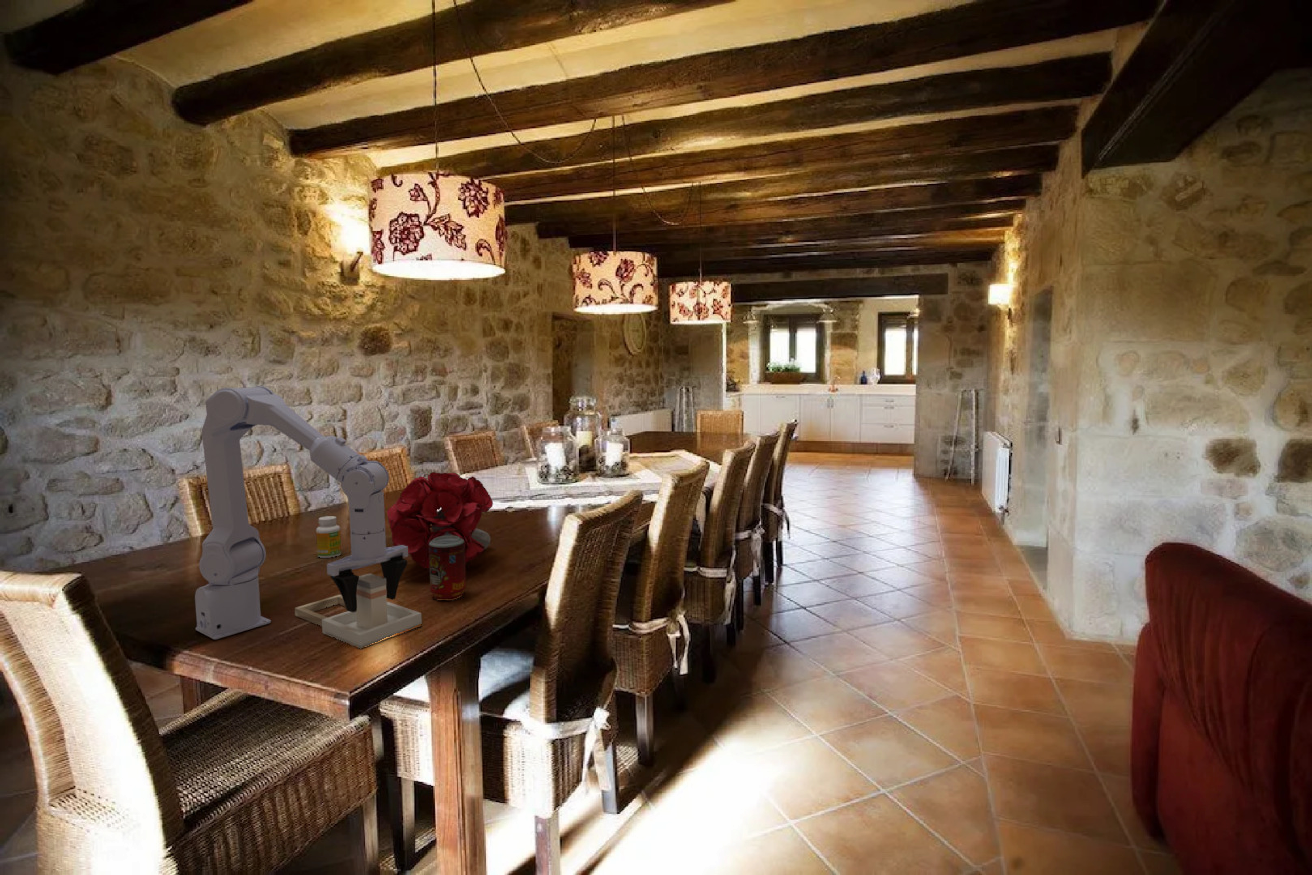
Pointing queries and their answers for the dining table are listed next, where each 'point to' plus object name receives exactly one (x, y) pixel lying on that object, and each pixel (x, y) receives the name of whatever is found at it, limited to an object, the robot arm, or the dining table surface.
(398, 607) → the tray
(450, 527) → the bouquet
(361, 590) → the block
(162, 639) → the dining table surface
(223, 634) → the robot arm
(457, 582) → the soda can
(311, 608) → the frame
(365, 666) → the dining table surface
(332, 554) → the supplement bottle
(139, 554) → the dining table surface
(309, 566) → the dining table surface
